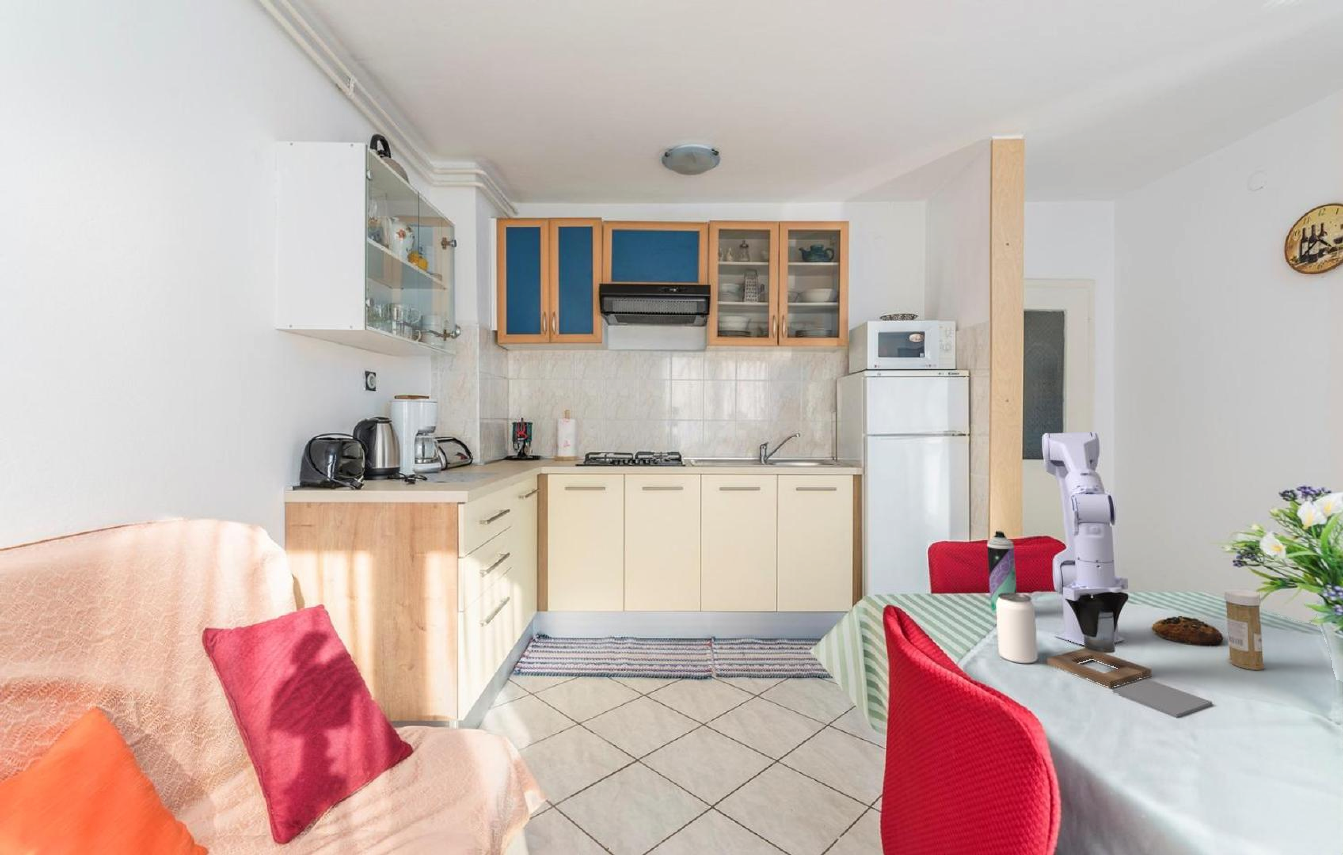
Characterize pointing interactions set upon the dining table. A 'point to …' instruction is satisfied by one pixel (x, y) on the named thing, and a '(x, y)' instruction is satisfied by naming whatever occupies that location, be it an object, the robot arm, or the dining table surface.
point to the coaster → (1162, 697)
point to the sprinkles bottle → (1244, 628)
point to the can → (1016, 628)
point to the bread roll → (1188, 631)
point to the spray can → (1000, 568)
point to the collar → (1113, 678)
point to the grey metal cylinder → (1102, 634)
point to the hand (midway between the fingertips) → (1098, 632)
